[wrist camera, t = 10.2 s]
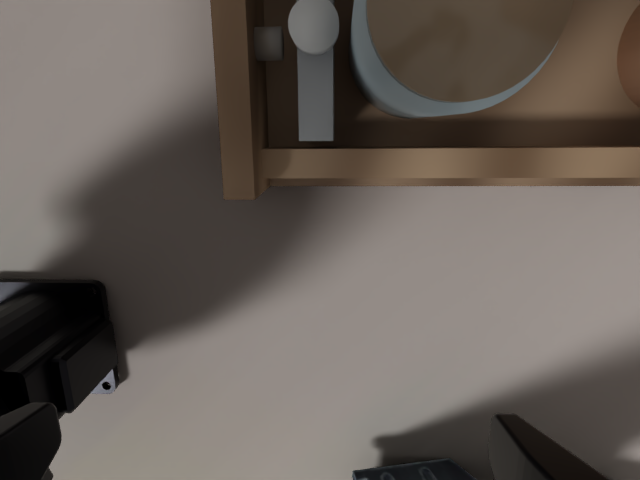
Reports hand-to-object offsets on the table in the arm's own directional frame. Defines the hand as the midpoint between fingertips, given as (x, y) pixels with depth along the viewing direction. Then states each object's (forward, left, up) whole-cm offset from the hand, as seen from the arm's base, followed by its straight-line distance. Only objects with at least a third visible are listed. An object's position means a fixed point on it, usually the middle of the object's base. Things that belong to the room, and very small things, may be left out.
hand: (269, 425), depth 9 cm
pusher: (+1, +9, -12) cm, 15 cm away
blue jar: (+5, +9, -12) cm, 16 cm away
